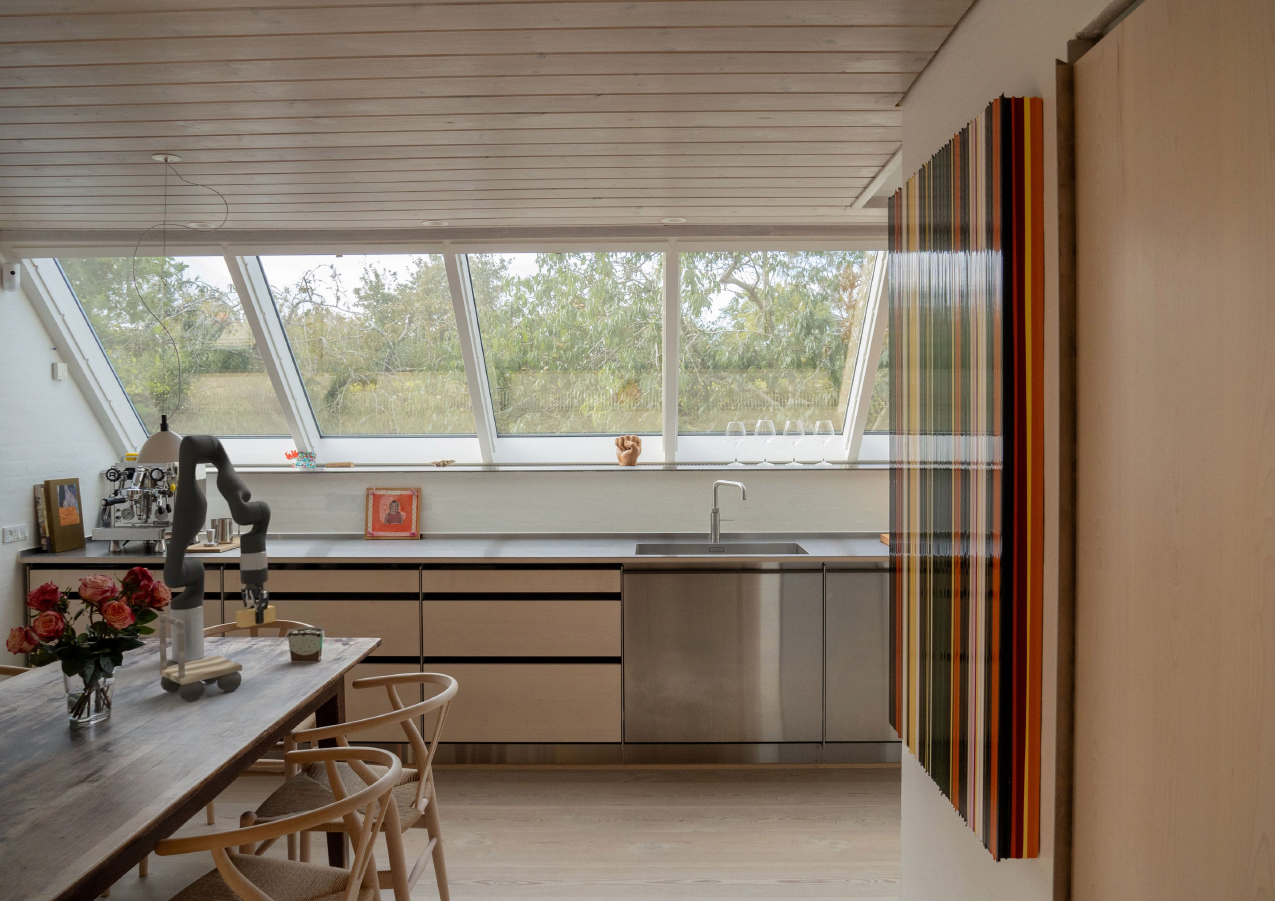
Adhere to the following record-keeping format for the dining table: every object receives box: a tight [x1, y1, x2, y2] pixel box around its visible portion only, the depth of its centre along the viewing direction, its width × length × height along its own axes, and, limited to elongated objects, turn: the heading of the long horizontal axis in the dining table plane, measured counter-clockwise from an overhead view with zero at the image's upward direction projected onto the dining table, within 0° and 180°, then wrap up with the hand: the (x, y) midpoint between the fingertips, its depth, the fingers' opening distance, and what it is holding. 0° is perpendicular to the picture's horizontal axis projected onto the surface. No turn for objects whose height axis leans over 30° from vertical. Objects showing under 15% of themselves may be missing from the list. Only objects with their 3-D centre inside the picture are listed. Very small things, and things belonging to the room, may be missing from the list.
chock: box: [235, 604, 276, 629], centre depth 237 cm, size 4×10×4 cm, turn 141°
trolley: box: [158, 613, 243, 703], centre depth 222 cm, size 16×16×23 cm
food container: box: [286, 626, 326, 663], centre depth 252 cm, size 12×6×10 cm, turn 84°
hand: (256, 622), depth 237 cm, fingers closed on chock, 4 cm apart
